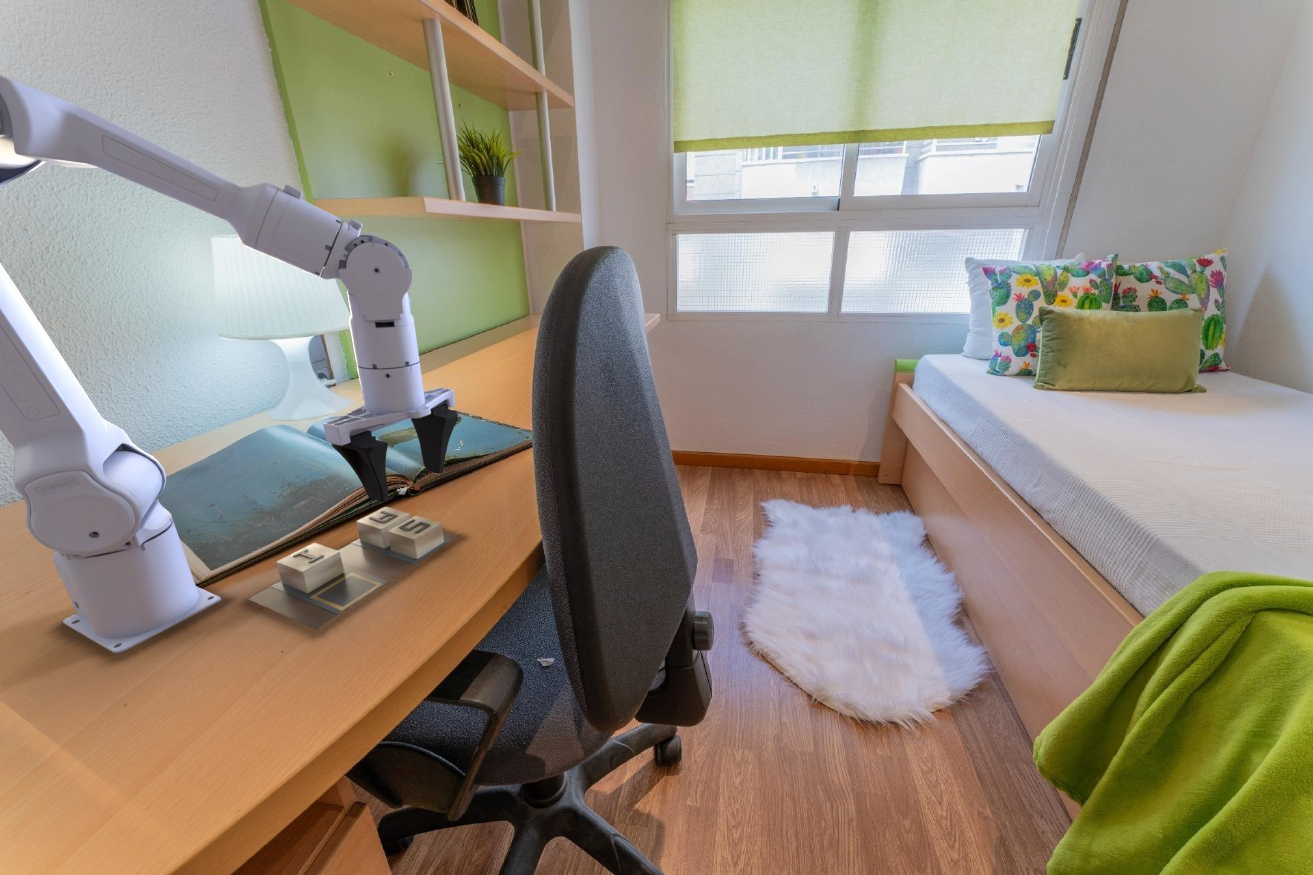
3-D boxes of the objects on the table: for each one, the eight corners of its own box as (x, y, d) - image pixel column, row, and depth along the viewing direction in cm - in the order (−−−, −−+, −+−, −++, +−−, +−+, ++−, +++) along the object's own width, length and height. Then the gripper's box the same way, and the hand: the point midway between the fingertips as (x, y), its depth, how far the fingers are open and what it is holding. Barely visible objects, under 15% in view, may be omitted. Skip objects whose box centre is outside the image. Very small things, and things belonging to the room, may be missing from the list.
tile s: (391, 550, 59) (387, 530, 58) (418, 534, 62) (415, 514, 61) (417, 559, 58) (413, 538, 57) (444, 541, 61) (441, 521, 60)
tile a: (360, 540, 61) (355, 520, 60) (388, 525, 64) (385, 505, 63) (384, 548, 59) (380, 528, 58) (412, 532, 63) (409, 512, 62)
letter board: (248, 602, 51) (247, 598, 51) (399, 519, 66) (399, 516, 66) (316, 632, 47) (315, 628, 47) (460, 538, 63) (459, 534, 62)
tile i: (281, 583, 53) (275, 560, 52) (319, 562, 57) (313, 541, 56) (307, 593, 52) (301, 570, 51) (344, 572, 55) (339, 550, 54)
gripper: (351, 383, 45) (377, 522, 49) (470, 354, 57) (482, 467, 62) (297, 374, 47) (327, 506, 52) (422, 348, 60) (437, 456, 65)
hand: (408, 484), depth 57 cm, fingers open, 7 cm apart
